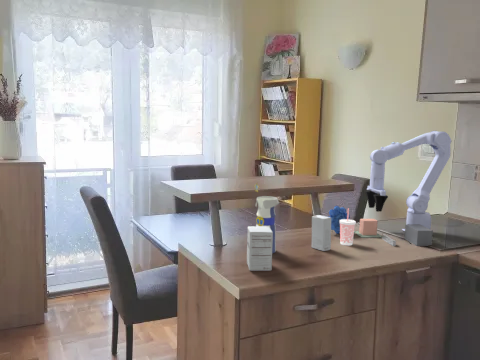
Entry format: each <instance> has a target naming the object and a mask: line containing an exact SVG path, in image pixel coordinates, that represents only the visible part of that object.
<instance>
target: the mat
mask: <svg viewBox="0 0 480 360" xmlns="http://www.w3.org/2000/svg"><path fill="white" fill-rule="evenodd" d="M354 234H355V235H356V234H357V236H359V237H360V238H363V239H365V238H370V239H371V238H382V235H381V234H379V233H378V232H377V235H362V234H360V233H359V230H357V231H355V230H354Z"/></svg>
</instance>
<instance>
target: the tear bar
mask: <svg viewBox="0 0 480 360" xmlns="http://www.w3.org/2000/svg"><path fill="white" fill-rule="evenodd" d="M381 236H382V237H381V240H383V241H385V243H387V244H389V245H390V246H392V247H396V245H397V241H396V240H395V239H393V238H391V237H390V236H388V235H387V234H385V233H384V234H383V233H382V235H381Z"/></svg>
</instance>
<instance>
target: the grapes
mask: <svg viewBox="0 0 480 360" xmlns="http://www.w3.org/2000/svg"><path fill="white" fill-rule="evenodd" d="M328 214H329V216H328V217H330V218H331V231H334V233H335V234H337V235H340V223H339V222H340V221H339V220H342V219H347V209H346V208H345V207H343V206H341V207H340V206H339V205H335V206H334V207H333V209H329V211H328ZM350 217H351V216H350V214H349V217H348V219H349V220H350Z"/></svg>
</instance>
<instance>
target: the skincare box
mask: <svg viewBox="0 0 480 360" xmlns="http://www.w3.org/2000/svg"><path fill="white" fill-rule="evenodd" d="M331 247H332V230H331V218H330V217H329V216H327V215H320V214H317V215H313V216H311V248H312V249H315V250H319V251H322V252H326V251H327V252H328V251H330V250H331Z"/></svg>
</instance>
